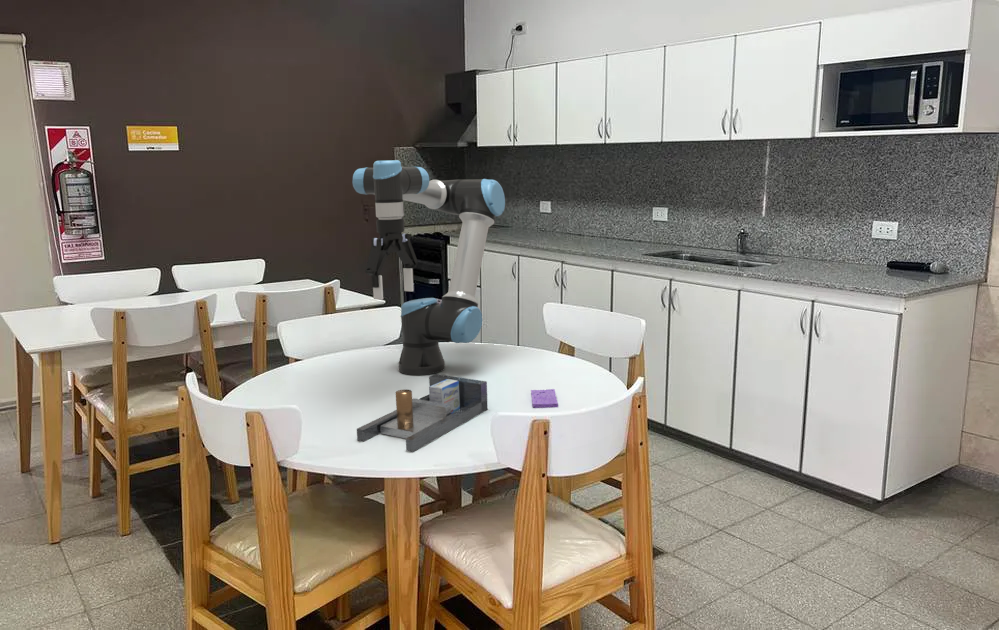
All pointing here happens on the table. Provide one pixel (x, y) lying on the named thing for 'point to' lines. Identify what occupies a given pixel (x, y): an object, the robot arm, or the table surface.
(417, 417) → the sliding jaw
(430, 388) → the medicine box
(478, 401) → the vise frame
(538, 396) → the sponges
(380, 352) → the table surface
